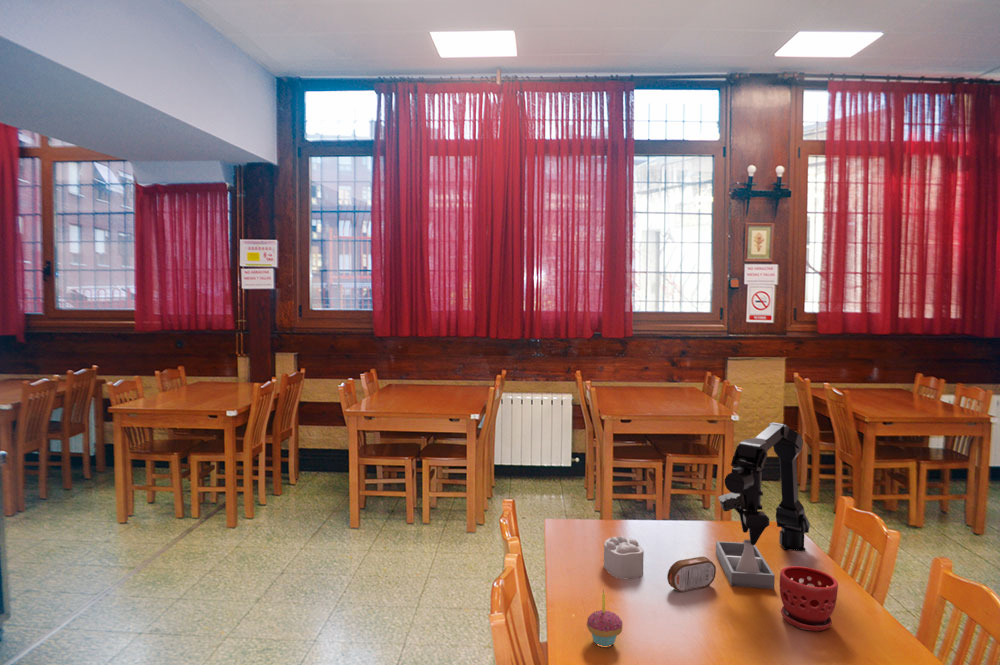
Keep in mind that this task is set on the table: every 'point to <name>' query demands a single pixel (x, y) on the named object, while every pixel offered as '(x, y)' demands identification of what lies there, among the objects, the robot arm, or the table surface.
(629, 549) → the lumpy-topped squat cylinder
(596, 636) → the cupcake
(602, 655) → the table surface
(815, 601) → the plant pot
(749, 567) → the flask
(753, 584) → the caddy
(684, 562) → the tin
